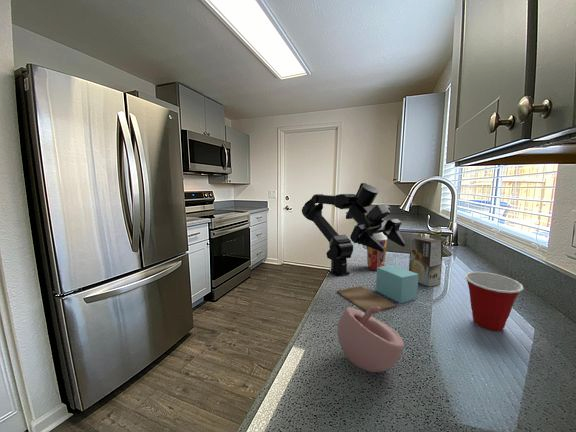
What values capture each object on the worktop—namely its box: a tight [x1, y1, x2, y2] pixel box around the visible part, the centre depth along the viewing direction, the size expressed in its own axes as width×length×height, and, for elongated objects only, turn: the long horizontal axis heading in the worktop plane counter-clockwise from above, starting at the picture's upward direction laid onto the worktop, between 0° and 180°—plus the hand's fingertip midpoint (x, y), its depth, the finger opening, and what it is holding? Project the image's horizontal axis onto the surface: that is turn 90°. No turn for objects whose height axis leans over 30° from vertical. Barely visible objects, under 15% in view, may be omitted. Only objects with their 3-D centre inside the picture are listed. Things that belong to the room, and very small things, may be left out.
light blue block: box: [375, 264, 419, 304], centre depth 75 cm, size 10×7×8 cm
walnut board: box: [336, 285, 397, 313], centre depth 72 cm, size 15×10×1 cm, turn 24°
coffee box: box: [408, 236, 444, 287], centre depth 86 cm, size 9×6×16 cm
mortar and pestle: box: [337, 306, 405, 373], centre depth 45 cm, size 12×12×11 cm
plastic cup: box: [464, 271, 524, 332], centre depth 58 cm, size 11×11×12 cm
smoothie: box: [366, 232, 389, 271], centre depth 100 cm, size 8×8×20 cm
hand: (394, 248), depth 72 cm, fingers open, 9 cm apart
